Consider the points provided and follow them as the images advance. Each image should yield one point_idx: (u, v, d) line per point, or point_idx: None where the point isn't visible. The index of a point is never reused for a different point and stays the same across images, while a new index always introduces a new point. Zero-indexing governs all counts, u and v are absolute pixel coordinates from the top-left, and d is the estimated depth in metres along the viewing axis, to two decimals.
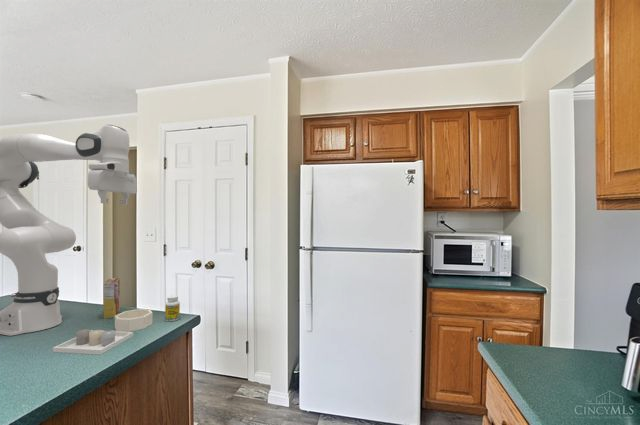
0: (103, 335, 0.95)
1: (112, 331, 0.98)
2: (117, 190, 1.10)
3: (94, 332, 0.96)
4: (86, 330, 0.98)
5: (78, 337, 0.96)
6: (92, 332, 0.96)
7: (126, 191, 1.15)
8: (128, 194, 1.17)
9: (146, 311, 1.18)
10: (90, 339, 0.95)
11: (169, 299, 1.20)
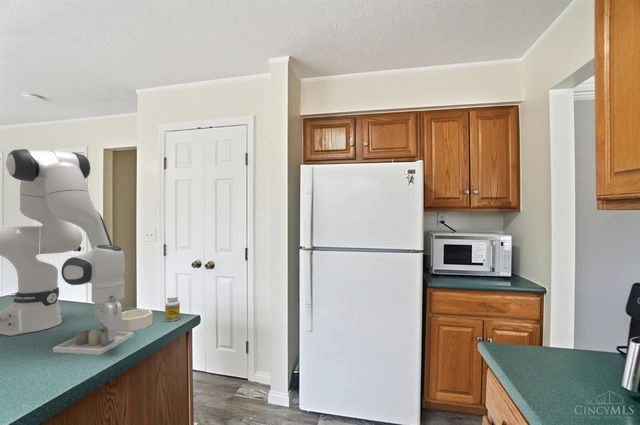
0: (103, 335, 0.95)
1: None
2: (101, 321, 0.95)
3: (94, 332, 0.96)
4: (86, 330, 0.98)
5: (78, 337, 0.96)
6: (92, 332, 0.96)
7: (104, 324, 0.92)
8: None
9: (146, 311, 1.18)
10: (90, 339, 0.95)
11: (169, 299, 1.20)
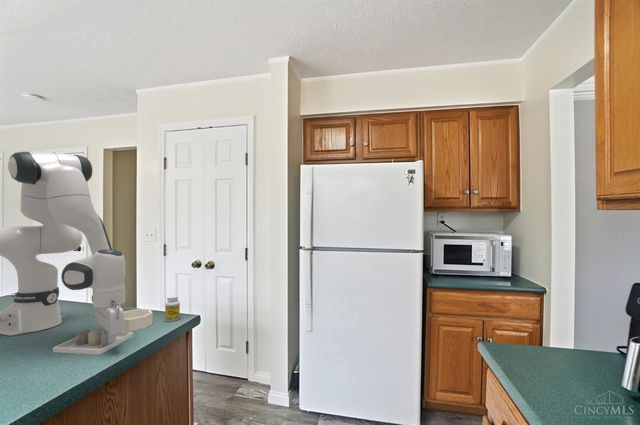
0: (104, 335, 0.95)
1: None
2: (101, 325, 0.96)
3: (93, 332, 0.96)
4: (86, 330, 0.98)
5: (78, 337, 0.96)
6: (91, 332, 0.96)
7: (105, 329, 0.93)
8: (107, 331, 0.93)
9: (146, 311, 1.18)
10: (89, 339, 0.95)
11: (169, 299, 1.20)
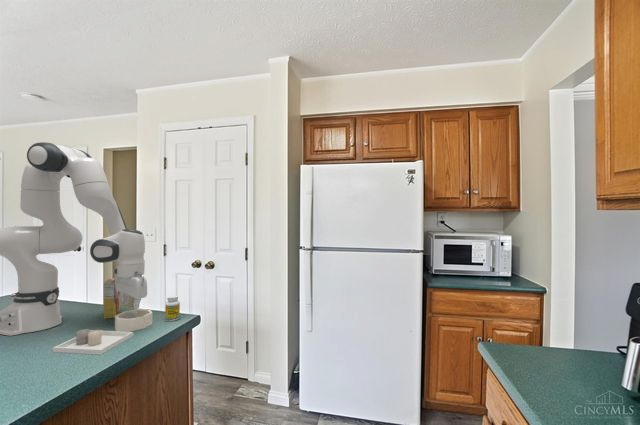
0: (127, 316, 1.12)
1: (133, 313, 1.15)
2: (125, 293, 1.13)
3: (93, 332, 0.96)
4: (86, 330, 0.98)
5: (78, 337, 0.96)
6: (91, 332, 0.96)
7: (130, 295, 1.10)
8: (134, 298, 1.09)
9: (146, 311, 1.18)
10: (89, 339, 0.95)
11: (169, 299, 1.20)
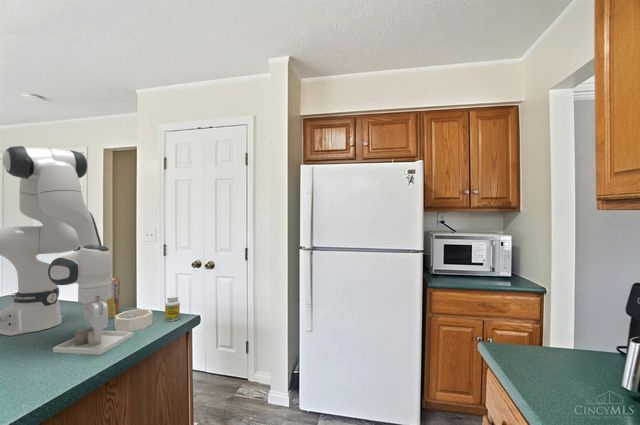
0: (127, 316, 1.12)
1: (133, 313, 1.15)
2: (87, 321, 0.96)
3: (93, 332, 0.96)
4: (85, 330, 0.98)
5: (77, 337, 0.95)
6: (91, 332, 0.96)
7: (90, 324, 0.92)
8: None
9: (146, 311, 1.18)
10: (89, 339, 0.95)
11: (169, 299, 1.20)
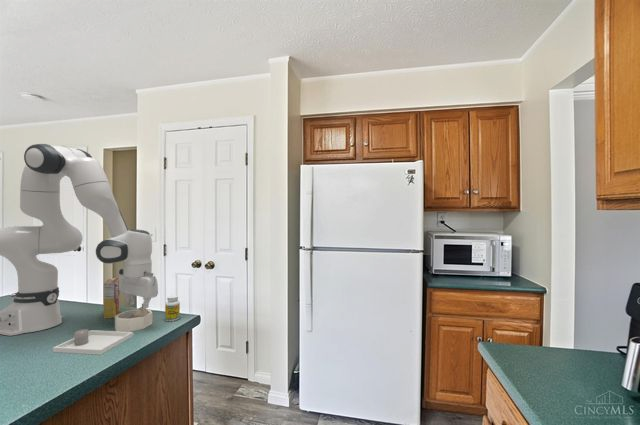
0: (126, 316, 1.12)
1: None
2: (132, 293, 1.12)
3: (142, 312, 1.12)
4: (84, 330, 0.98)
5: (76, 337, 0.95)
6: (141, 311, 1.12)
7: (139, 295, 1.10)
8: (144, 298, 1.10)
9: None
10: (136, 315, 1.11)
11: (169, 299, 1.20)
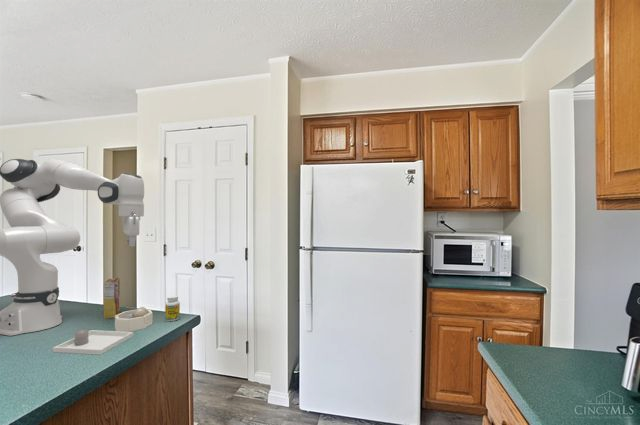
0: (126, 316, 1.12)
1: None
2: (125, 233, 1.20)
3: (142, 312, 1.12)
4: (84, 330, 0.98)
5: (76, 337, 0.95)
6: (141, 311, 1.12)
7: (127, 233, 1.17)
8: (129, 236, 1.16)
9: None
10: (136, 315, 1.11)
11: (169, 299, 1.20)
